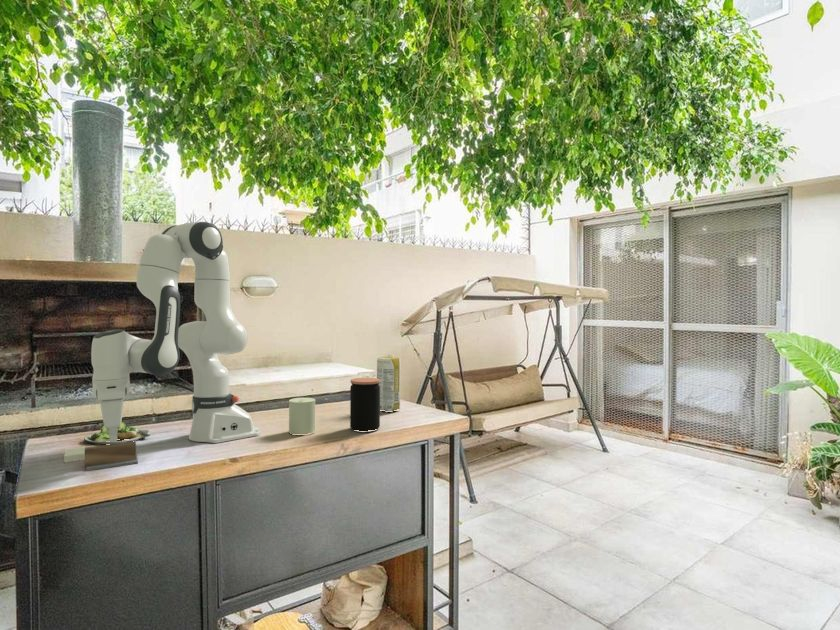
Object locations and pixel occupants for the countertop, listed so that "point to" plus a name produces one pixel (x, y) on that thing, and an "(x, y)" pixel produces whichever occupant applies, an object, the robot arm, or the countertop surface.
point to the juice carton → (389, 382)
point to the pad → (112, 464)
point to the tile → (75, 454)
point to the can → (301, 415)
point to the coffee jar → (365, 404)
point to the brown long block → (110, 453)
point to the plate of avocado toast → (122, 434)
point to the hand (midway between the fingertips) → (113, 436)
